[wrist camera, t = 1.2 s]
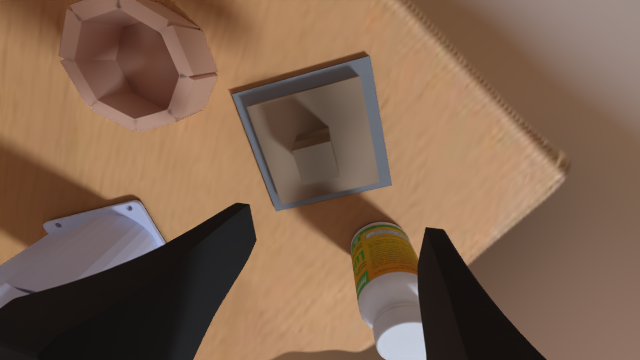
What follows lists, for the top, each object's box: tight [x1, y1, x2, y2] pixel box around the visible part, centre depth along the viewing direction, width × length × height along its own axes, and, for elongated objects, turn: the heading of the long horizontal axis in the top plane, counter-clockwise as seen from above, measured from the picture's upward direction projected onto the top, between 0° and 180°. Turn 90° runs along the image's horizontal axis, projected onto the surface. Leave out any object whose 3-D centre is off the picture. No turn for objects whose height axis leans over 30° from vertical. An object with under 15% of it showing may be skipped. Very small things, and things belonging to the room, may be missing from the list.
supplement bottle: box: [351, 222, 426, 360], centre depth 21 cm, size 5×5×10 cm
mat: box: [232, 56, 392, 211], centre depth 21 cm, size 10×10×1 cm
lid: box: [247, 75, 380, 205], centre depth 19 cm, size 8×8×4 cm
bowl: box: [59, 0, 218, 132], centre depth 17 cm, size 7×7×4 cm
